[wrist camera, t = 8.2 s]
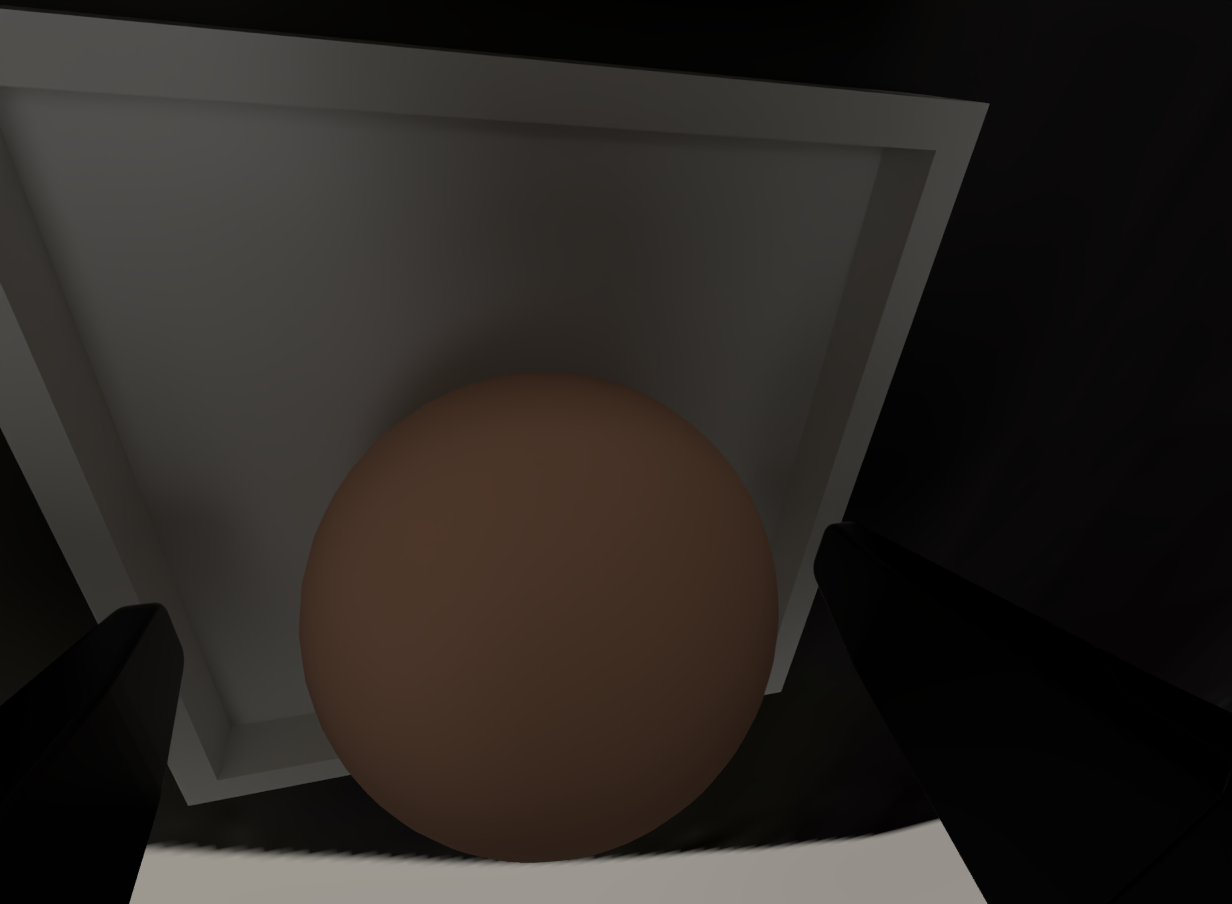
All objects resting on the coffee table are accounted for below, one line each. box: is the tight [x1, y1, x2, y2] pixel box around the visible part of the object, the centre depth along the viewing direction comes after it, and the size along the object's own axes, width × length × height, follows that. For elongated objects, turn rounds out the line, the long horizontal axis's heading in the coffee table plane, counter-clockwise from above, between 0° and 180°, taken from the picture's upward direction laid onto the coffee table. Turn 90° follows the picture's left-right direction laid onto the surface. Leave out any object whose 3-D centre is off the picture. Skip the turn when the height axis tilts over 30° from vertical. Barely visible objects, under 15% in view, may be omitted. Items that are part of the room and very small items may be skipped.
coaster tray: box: [0, 4, 989, 806], centre depth 11 cm, size 12×12×2 cm
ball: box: [299, 372, 779, 863], centre depth 9 cm, size 6×6×6 cm
